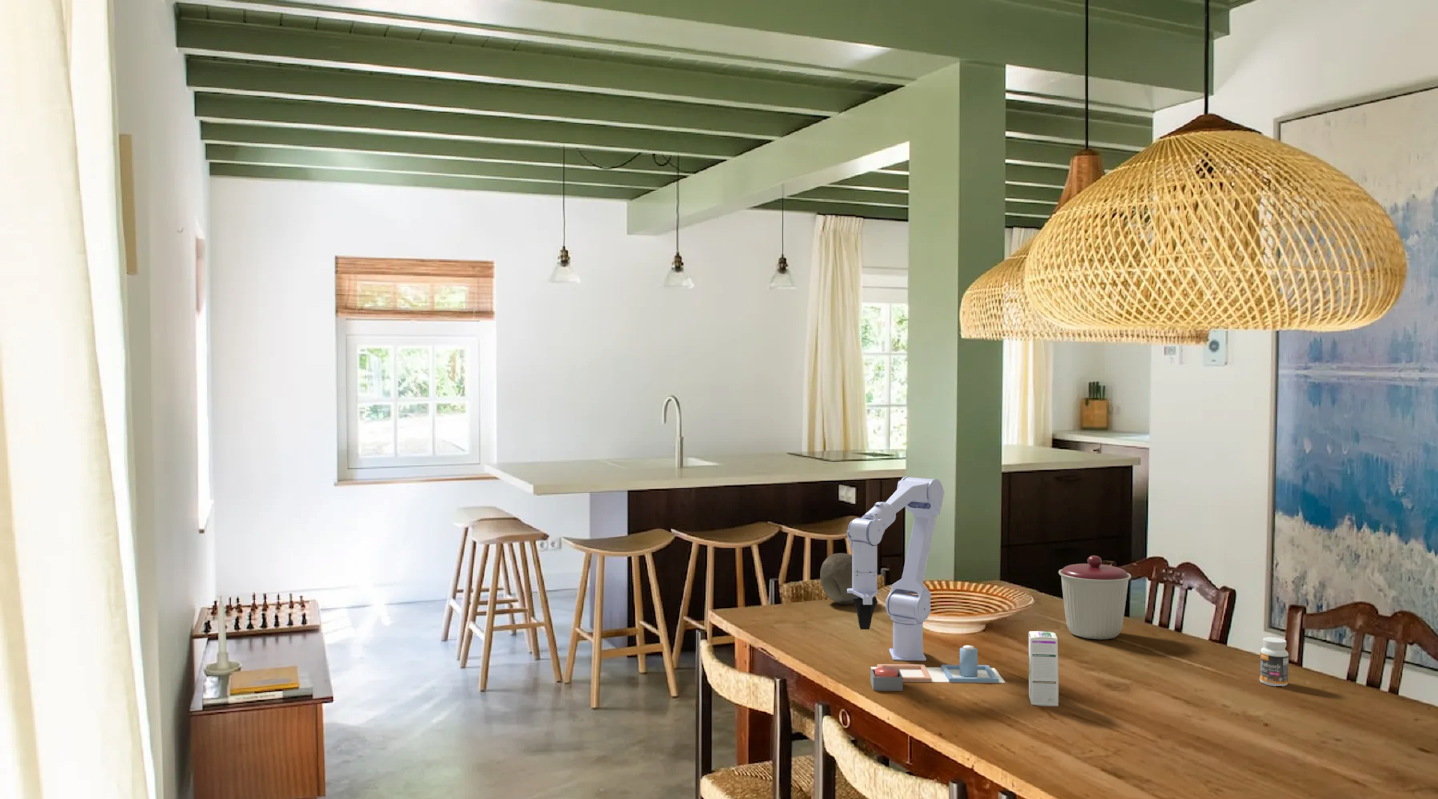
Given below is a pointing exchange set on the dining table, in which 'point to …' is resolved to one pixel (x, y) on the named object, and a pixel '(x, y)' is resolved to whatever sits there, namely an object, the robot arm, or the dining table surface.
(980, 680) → the region blue
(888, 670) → the button
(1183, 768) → the dining table surface
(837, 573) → the grey boulder
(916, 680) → the region terracotta
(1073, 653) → the dining table surface
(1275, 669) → the pill bottle
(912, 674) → the sheet
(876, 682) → the button base
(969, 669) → the blue cylinder
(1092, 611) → the canister
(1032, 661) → the syrup box
